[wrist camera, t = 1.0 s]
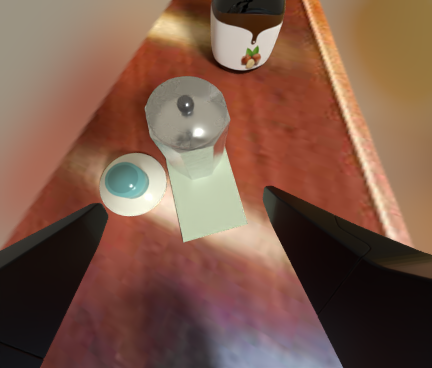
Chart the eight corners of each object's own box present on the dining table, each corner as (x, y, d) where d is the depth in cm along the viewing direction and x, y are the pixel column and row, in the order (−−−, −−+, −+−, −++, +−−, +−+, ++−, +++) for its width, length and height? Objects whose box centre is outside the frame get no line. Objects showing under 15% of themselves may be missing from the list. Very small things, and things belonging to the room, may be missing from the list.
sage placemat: (247, 223, 21) (247, 223, 21) (183, 241, 20) (183, 242, 20) (219, 129, 24) (219, 128, 24) (162, 142, 23) (162, 141, 23)
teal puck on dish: (172, 206, 21) (166, 204, 18) (106, 223, 21) (88, 224, 17) (160, 148, 23) (153, 138, 20) (99, 162, 22) (81, 153, 19)
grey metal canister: (225, 172, 22) (241, 128, 11) (178, 183, 22) (145, 150, 11) (213, 129, 24) (216, 54, 13) (168, 139, 23) (130, 69, 12)
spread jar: (210, 75, 26) (211, -32, 15) (210, 25, 29) (210, -100, 17) (278, 77, 27) (328, -26, 16) (272, 28, 29) (312, -92, 18)
